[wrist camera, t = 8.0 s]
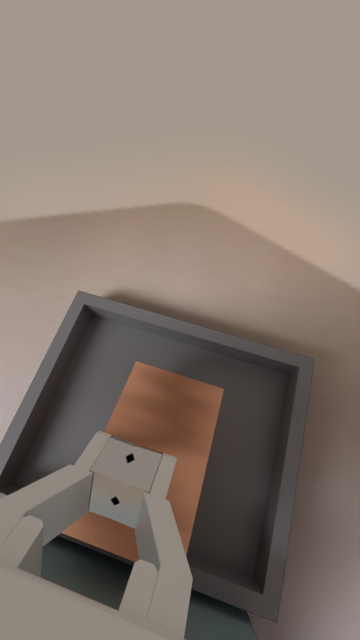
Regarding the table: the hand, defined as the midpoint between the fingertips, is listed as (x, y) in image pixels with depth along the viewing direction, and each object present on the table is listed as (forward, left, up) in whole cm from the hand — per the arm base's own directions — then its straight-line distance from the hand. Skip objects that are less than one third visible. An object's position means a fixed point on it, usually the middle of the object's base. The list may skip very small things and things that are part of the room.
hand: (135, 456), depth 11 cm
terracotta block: (0, -4, -4) cm, 6 cm away
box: (0, +1, -9) cm, 9 cm away
